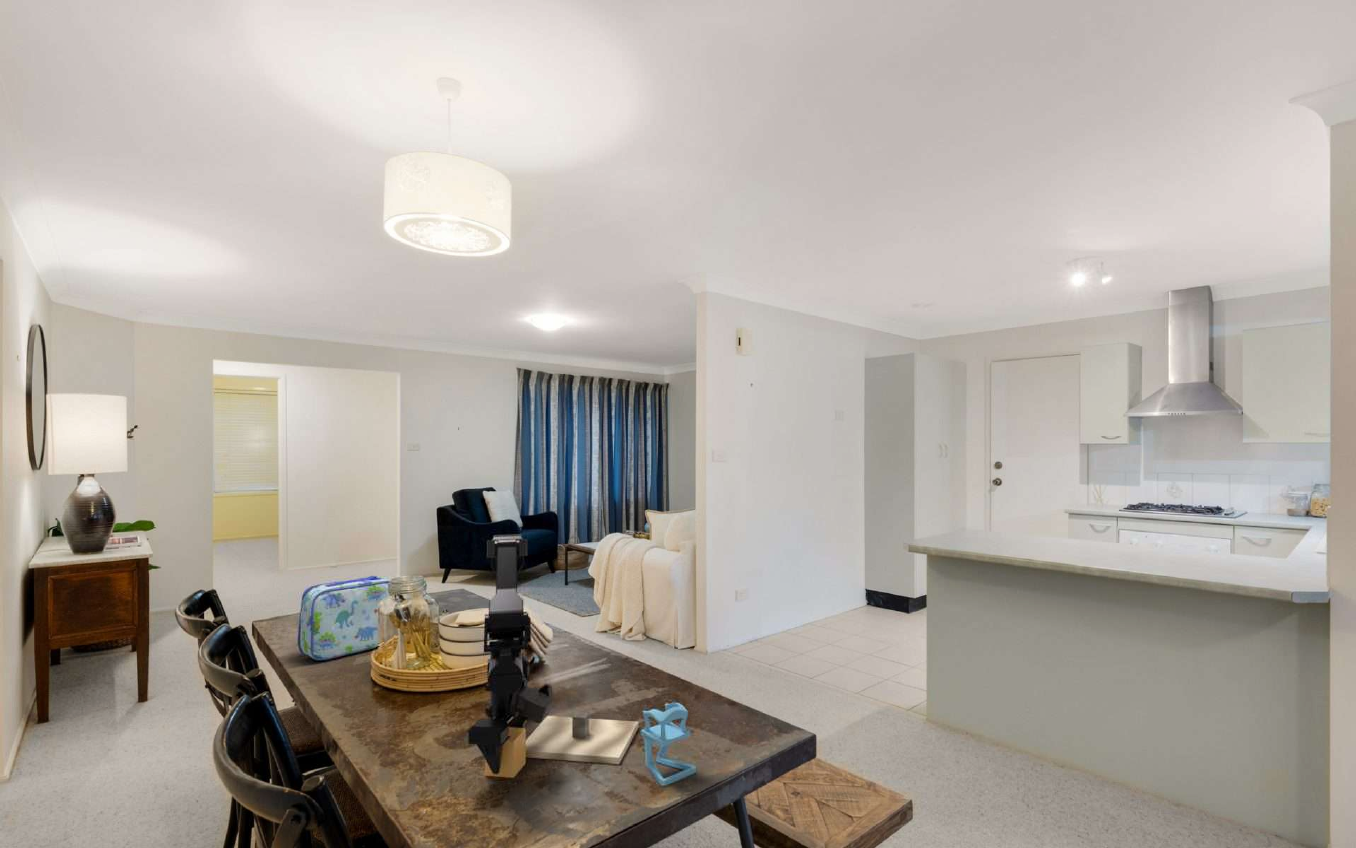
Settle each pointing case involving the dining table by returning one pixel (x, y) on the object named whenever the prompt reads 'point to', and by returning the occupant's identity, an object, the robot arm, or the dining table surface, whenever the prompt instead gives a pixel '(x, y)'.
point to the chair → (666, 740)
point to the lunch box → (340, 617)
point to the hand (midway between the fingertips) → (505, 762)
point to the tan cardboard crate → (511, 754)
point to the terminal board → (581, 739)
